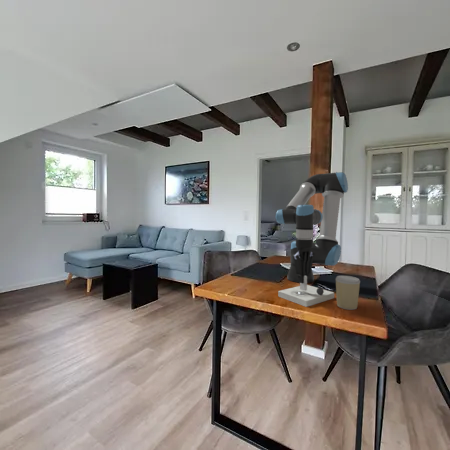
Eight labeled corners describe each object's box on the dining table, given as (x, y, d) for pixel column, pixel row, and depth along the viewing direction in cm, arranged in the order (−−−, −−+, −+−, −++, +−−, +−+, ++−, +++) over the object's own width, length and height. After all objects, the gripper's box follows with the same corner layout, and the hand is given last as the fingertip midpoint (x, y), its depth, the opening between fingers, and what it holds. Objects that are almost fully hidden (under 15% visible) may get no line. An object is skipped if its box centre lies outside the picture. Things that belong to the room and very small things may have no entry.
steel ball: (300, 295, 119) (299, 289, 118) (306, 297, 116) (304, 291, 116) (296, 299, 117) (294, 293, 116) (302, 301, 115) (300, 295, 114)
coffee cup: (351, 302, 113) (352, 275, 112) (364, 310, 103) (365, 281, 103) (331, 302, 112) (331, 275, 112) (341, 310, 103) (342, 281, 102)
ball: (319, 293, 117) (319, 286, 117) (324, 294, 115) (325, 288, 114) (315, 294, 115) (315, 287, 115) (320, 296, 113) (320, 289, 113)
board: (305, 289, 131) (305, 284, 131) (334, 298, 118) (334, 292, 118) (278, 296, 120) (278, 291, 120) (306, 306, 107) (306, 301, 107)
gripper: (306, 237, 123) (305, 285, 124) (288, 238, 116) (287, 290, 117) (320, 238, 117) (319, 289, 118) (301, 240, 110) (300, 294, 111)
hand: (303, 289), depth 118 cm, fingers closed
